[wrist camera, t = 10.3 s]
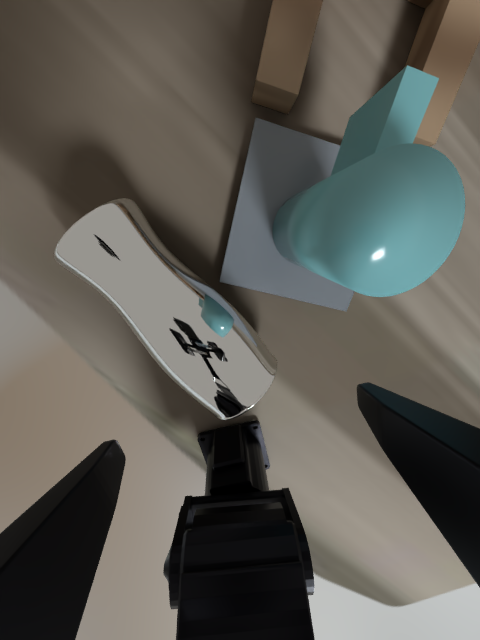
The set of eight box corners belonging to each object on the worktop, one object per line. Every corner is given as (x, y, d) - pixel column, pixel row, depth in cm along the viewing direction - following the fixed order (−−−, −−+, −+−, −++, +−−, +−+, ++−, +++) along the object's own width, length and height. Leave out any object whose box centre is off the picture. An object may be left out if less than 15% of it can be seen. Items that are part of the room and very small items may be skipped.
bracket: (407, 155, 18) (435, 143, 16) (251, 101, 16) (255, 79, 14) (481, -29, 15) (529, -78, 13) (298, -118, 13) (314, -194, 11)
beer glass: (18, 261, 12) (219, 442, 16) (128, 173, 13) (295, 368, 17) (75, 270, 19) (207, 395, 23) (145, 212, 19) (261, 344, 23)
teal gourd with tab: (326, 272, 19) (421, 309, 10) (264, 255, 19) (304, 279, 9) (369, 154, 17) (551, 57, 7) (298, 130, 16) (403, -11, 7)
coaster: (341, 308, 22) (346, 311, 21) (219, 279, 20) (219, 281, 19) (395, 170, 18) (404, 167, 17) (253, 123, 17) (255, 117, 16)
